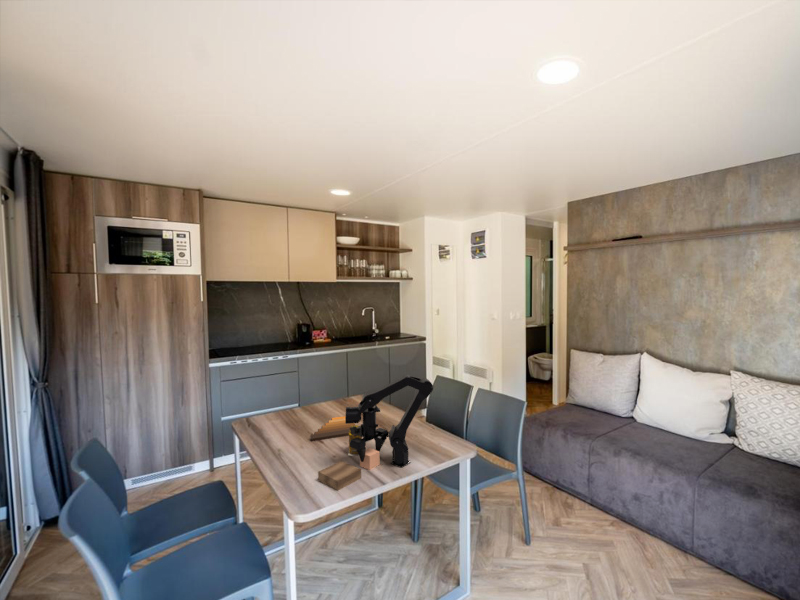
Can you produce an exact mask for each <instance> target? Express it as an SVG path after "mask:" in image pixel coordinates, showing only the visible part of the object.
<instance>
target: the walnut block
mask: <svg viewBox="0 0 800 600" xmlns="http://www.w3.org/2000/svg"><path fill="white" fill-rule="evenodd" d="M317 474H318V475H317V477H318V479H317V480H318V481H319V482H320V483H322V484H324V485H326V486H328V487H329V488H332V489H334V490H336V491H340V490H342V489H345V487H347V486H350V485H352V484H353V483H355V482H357V481H359V480H361V479H362V469H361V468H359V467H357V466H354V465H352V464H349V463H348V462H345V461H342V460H340V461H338V462H336V463H334V464H332V465H329V466H328V467H325V468H323V469H321V470H318V471H317Z"/></svg>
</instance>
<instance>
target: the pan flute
mask: <svg viewBox="0 0 800 600" xmlns="http://www.w3.org/2000/svg"><path fill="white" fill-rule="evenodd" d="M345 416H346V415H344V416H337V417H331V419H329V420H328V422H325V423H324V425H321V428H318V429H317V431H314V432H313V433H314V434H311V435H310V436H309V437H310V442H316V441H323V440H328V439H329V440H330V439H335V438H343V437H349V433H350V427H351V426H353V425H356V423H351V424H346V419H345Z"/></svg>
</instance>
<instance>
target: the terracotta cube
mask: <svg viewBox="0 0 800 600" xmlns="http://www.w3.org/2000/svg"><path fill="white" fill-rule="evenodd" d="M380 457H381V456H380V452H379V451H377V450H376V449H374V448H371V447H369V448H366V452H365V458H364V462H361V460H360V459H359V467H362V468H363V467H364V469H366V470H368V471H371V470H373V469H375V468H377V467H378V465H379V466H380V463H381V461H380ZM376 466H377V467H376ZM374 467H375V468H374Z"/></svg>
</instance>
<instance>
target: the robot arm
mask: <svg viewBox="0 0 800 600" xmlns="http://www.w3.org/2000/svg"><path fill="white" fill-rule="evenodd" d="M406 387H410V388H413V389H415V390H414V391H415V392H414V395H413V397H412V398H411V401H410V403H409V405H408V406H407V408H406V410H405V412H404V413H403V415H402V417H401V419H400V421H399V422H398V424H396V425H394V424H393V425H392V426H391V428H390V429H389V431H388V429H386V428H385V429H384V428H383V427H379V424H378V423H377V413H380V412H381V409H380V407H378V404H379V403H381V401H382V400H383V399H385V398H387V397H388V396H390V395H393V394H394V393H396V392H398V391H400V390H402V389H404V388H406ZM433 391H434V385H433V383H432V382H431V381H430V380H429V379H428V378H425V377H422V378H420V377H416V376H412V375H409V374H404V375H403V376H402V377H400V378H398V379H396V380H394V381H392V382H390V383H388V384H386V385H384V386H382V387H380V388H376V389H371V390H367V391H365V392H364V393H363V395H362V396H361V398H362V399H361V400H360V402H359V404H358V405H357V406H353V407H351V406H346V407H345V415H344V416H345V419H346V424H351V423H354V424H359V423H360V422H361V421H362V423H361V424H360V425H359V426H360V427H352V428H351V434H352V435H354V436H357V435H360V437H362V439H360V438H354V439H352V440H351V441H350V447H352V448H354V449H356V450H357V452H358V455H357V456H358V458H359V461H360V460H361V462H364V458H365V452H366V449H367V448H366V445H367V444H366V443H368V442H370V441H372V440H374V444H375V450H377V451H379V453H380V452H381V450H382V447H383V445H384V444H385V441H386V440H387V438H388V441H389V444H390V446H391V448H392V452H391V453H392V454H391V455H392V456H391V457H392V458H391V461H390V464H391V465H395V466H396V465H397V467H399V466H400V467H399V468H403V467H405V466H407V465H408V464H407V463H408V462H409V461H410V460H409V445H408V443H407V441H406V435H407V431H408V429H409V427H410V425H411V424H412V423H413V422H412V421H413V420H414V418H415V417H416V414H417V412H418V410H419V409H420V407H421V405H422V403H423V402H424V401H426V399H427V398H429V396H430V395H431V394H432V392H433ZM406 464H407V465H406ZM404 465H405V466H404ZM402 466H403V467H402Z"/></svg>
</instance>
